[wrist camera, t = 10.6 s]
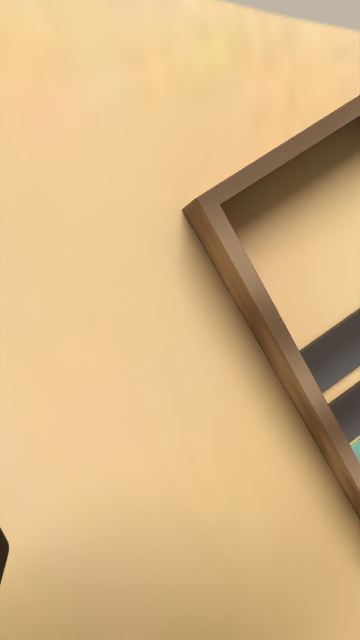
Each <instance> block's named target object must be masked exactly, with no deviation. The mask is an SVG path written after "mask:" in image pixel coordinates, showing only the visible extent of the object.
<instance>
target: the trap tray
mask: <svg viewBox="0 0 360 640" xmlns="http://www.w3.org/2000/svg"><path fill="white" fill-rule="evenodd" d="M358 116H360V95H359V96H358V97H356V98H354V99H353V100H351V101H350V102H348V103H346V104H345V105H343V106H342V107H340V108H338V109H337V110H335V111H334V112H332V113H331V114H329V115H327V116H326V117H324V118H323V119H321V120H319V121H318V122H316V123H315V124H313V125H311V126H310V127H308V128H307V129H305V130H304V131H302V132H300V133H299V134H297V135H296V136H294V137H292V138H291V139H289V140H288V141H286V142H284V143H283V144H281V145H280V146H278V147H276V148H275V149H273V150H272V151H270V152H269V153H267V154H265V155H264V156H262V157H261V158H259V159H257V160H256V161H254V162H253V163H251V164H249V165H248V166H246V167H245V168H243V169H242V170H240V171H238V172H237V173H235V174H234V175H232V176H230V177H229V178H227V179H226V180H224V181H222V182H221V183H219V184H218V185H216V186H214V187H213V188H211V189H210V190H208V191H207V192H205V193H203V194H202V195H200V196H199V197H197V198H196V199H194V200H193V201H192V202H191V203H189V204H188V205H187V206H186V207H184V208H183V209H182V210H183V212H184V213H185V215H186V217H187V219H188V220H189V222H190V224H191V226H192V227H193V229H194V231H195V233H196V234H197V236H198V238H199V239H200V241H201V243H202V245H203V246H204V248H205V250H206V252H207V253H208V255H209V257H210V259H211V260H212V262H213V264H214V266H215V267H216V269H217V271H218V273H219V274H220V276H221V278H222V280H223V281H224V283H225V285H226V286H227V288H228V290H229V292H230V293H231V295H232V297H233V299H234V300H235V302H236V304H237V306H238V307H239V309H240V311H241V313H242V314H243V316H244V318H245V320H246V321H247V323H248V325H249V327H250V328H251V330H252V332H253V334H254V335H255V337H256V339H257V340H258V342H259V344H260V346H261V347H262V349H263V351H264V353H265V354H266V356H267V358H268V360H269V361H270V363H271V365H272V367H273V368H274V370H275V372H276V374H277V375H278V377H279V379H280V381H281V382H282V384H283V386H284V388H285V389H286V391H287V393H288V394H289V396H290V398H291V400H292V401H293V403H294V405H295V407H296V408H297V410H298V412H299V414H300V415H301V417H302V419H303V421H304V422H305V424H306V426H307V428H308V429H309V431H310V433H311V435H312V436H313V438H314V440H315V441H316V443H317V445H318V447H319V448H320V450H321V452H322V454H323V455H324V457H325V459H326V461H327V462H328V464H329V466H330V468H331V469H332V471H333V473H334V475H335V476H336V478H337V480H338V482H339V483H340V485H341V487H342V489H343V490H344V492H345V494H346V495H347V497H348V499H349V501H350V502H351V504H352V506H353V508H354V509H355V511H356V513H357V515H358V516H359V518H360V439H359V440H358V441H357V442H355V443H354V444H353V445H351V446H350V444H349V443H350V442H351V441H352V440H354V439H355V438H356V437H358V436H359V435H360V381H359V382H358V383H356V384H355V385H354V386H352V387H351V388H349V389H348V390H347V391H345V392H344V393H343V394H341V395H340V396H339V397H337V398H336V399H334V400H333V401H332V402H330V403H329V404H328V403H327V402H326V400H325V398H324V396H323V394H322V393H323V392H324V391H325V390H327V389H328V388H330V387H331V386H332V385H334V384H335V383H336V382H338V381H339V380H340V379H342V378H343V377H345V376H346V375H347V374H349V373H350V372H351V371H353V370H354V369H356V368H357V367H358V366H360V308H359V309H358V310H357V311H355V312H354V313H352V314H351V315H350V316H348V317H347V318H345V319H344V320H342V321H341V322H340V323H338V324H337V325H335V326H334V327H333V328H331V329H330V330H328V331H327V332H326V333H324V334H323V335H321V336H320V337H318V338H317V339H316V340H314V341H313V342H311V343H310V344H309V345H307V346H306V347H304V348H303V349H301V350H300V351H299V350H298V348H297V346H296V344H295V342H294V341H293V339H292V337H291V335H290V333H289V331H288V330H287V328H286V326H285V324H284V322H283V320H282V318H281V317H280V315H279V313H278V311H277V309H276V307H275V306H274V304H273V302H272V300H271V298H270V296H269V294H268V293H267V291H266V289H265V287H264V285H263V283H262V281H261V280H260V278H259V276H258V274H257V272H256V270H255V269H254V267H253V265H252V263H251V261H250V259H249V257H248V256H247V254H246V252H245V250H244V248H243V246H242V245H241V243H240V241H239V239H238V237H237V235H236V233H235V232H234V230H233V228H232V226H231V224H230V222H229V220H228V219H227V217H226V215H225V213H224V211H223V209H222V208H221V206H220V204H222V203H223V202H225V201H226V200H228V199H229V198H231V197H233V196H234V195H236V194H237V193H239V192H240V191H242V190H244V189H245V188H247V187H248V186H250V185H251V184H253V183H254V182H256V181H258V180H259V179H261V178H262V177H264V176H265V175H267V174H269V173H270V172H272V171H273V170H275V169H276V168H278V167H280V166H281V165H283V164H284V163H286V162H287V161H289V160H291V159H292V158H294V157H295V156H297V155H298V154H300V153H302V152H303V151H305V150H306V149H308V148H309V147H311V146H313V145H314V144H316V143H317V142H319V141H320V140H322V139H324V138H325V137H327V136H328V135H330V134H331V133H333V132H335V131H336V130H338V129H339V128H341V127H342V126H344V125H346V124H347V123H349V122H350V121H352V120H353V119H355V118H357V117H358Z"/></svg>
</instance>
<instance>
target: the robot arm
mask: <svg viewBox="0 0 360 640" xmlns="http://www.w3.org/2000/svg"><path fill="white" fill-rule="evenodd" d="M8 553H9V544H8V541H7V539H6V537H5V535H4V533H3V531H2V530H1V528H0V584H1V580H2V576H3V572H4V568H5V565H6V561H7V557H8Z"/></svg>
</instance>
